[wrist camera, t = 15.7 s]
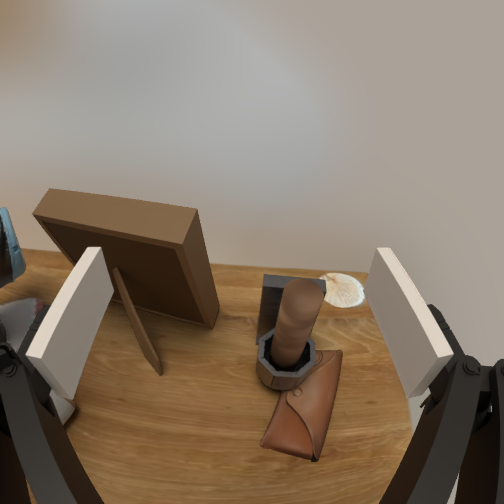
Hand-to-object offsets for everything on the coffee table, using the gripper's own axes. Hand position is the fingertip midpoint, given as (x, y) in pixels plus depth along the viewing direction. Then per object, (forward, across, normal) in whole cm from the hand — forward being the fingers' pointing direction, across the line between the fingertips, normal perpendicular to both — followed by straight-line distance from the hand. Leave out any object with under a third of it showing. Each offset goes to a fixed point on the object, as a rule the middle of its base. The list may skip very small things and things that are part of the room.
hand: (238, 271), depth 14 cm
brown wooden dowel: (+13, +6, -27) cm, 30 cm away
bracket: (+17, +6, -30) cm, 35 cm away
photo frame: (+22, -16, -29) cm, 39 cm away
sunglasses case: (+9, +9, -32) cm, 35 cm away
